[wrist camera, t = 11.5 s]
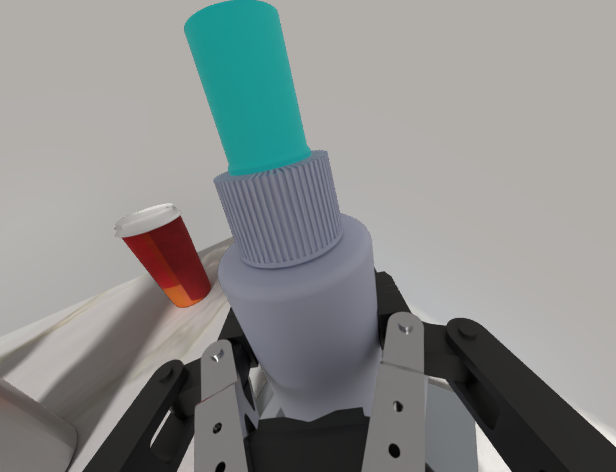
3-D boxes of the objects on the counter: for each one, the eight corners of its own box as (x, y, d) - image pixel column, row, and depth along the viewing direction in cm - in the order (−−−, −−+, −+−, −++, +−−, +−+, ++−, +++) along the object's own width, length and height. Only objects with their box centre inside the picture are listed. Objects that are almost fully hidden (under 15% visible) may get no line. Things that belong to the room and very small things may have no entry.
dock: (217, 475, 16) (186, 446, 14) (298, 340, 25) (287, 309, 23) (491, 743, 8) (523, 778, 6) (471, 405, 17) (482, 367, 15)
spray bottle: (344, 368, 19) (277, 59, 9) (408, 434, 15) (407, -39, 5) (286, 422, 17) (109, 71, 7) (342, 525, 12) (31, -127, 2)
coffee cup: (215, 272, 42) (177, 198, 35) (221, 296, 35) (175, 210, 28) (168, 292, 39) (117, 216, 32) (164, 323, 32) (99, 234, 26)
